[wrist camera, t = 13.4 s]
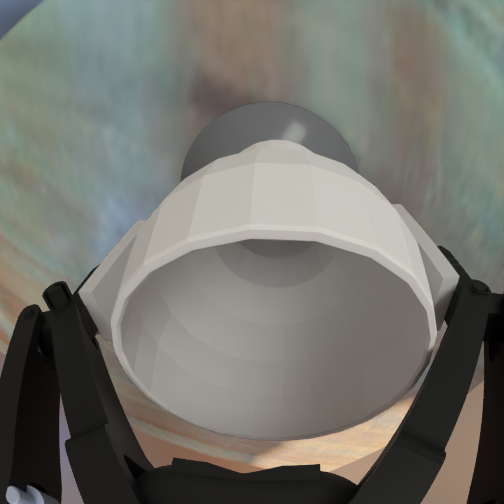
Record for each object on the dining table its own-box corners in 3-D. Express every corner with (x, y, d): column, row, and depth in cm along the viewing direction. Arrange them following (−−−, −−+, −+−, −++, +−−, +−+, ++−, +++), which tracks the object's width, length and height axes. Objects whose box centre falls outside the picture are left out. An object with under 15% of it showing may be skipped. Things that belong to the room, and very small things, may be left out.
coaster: (200, 268, 25) (198, 273, 25) (170, 115, 19) (166, 116, 18) (353, 260, 24) (355, 266, 23) (356, 99, 17) (359, 100, 17)
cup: (348, 114, 17) (500, 189, 4) (349, 252, 22) (402, 431, 10) (190, 129, 19) (33, 229, 6) (217, 262, 24) (165, 438, 11)
